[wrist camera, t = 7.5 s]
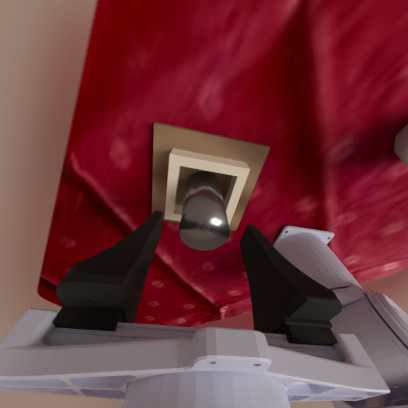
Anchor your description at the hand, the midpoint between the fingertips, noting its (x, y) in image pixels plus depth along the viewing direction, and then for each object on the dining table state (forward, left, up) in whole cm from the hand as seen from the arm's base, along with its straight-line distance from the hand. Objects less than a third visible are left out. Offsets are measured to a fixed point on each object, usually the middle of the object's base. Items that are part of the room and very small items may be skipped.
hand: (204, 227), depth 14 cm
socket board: (0, 0, -8) cm, 8 cm away
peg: (0, 0, -7) cm, 7 cm away
